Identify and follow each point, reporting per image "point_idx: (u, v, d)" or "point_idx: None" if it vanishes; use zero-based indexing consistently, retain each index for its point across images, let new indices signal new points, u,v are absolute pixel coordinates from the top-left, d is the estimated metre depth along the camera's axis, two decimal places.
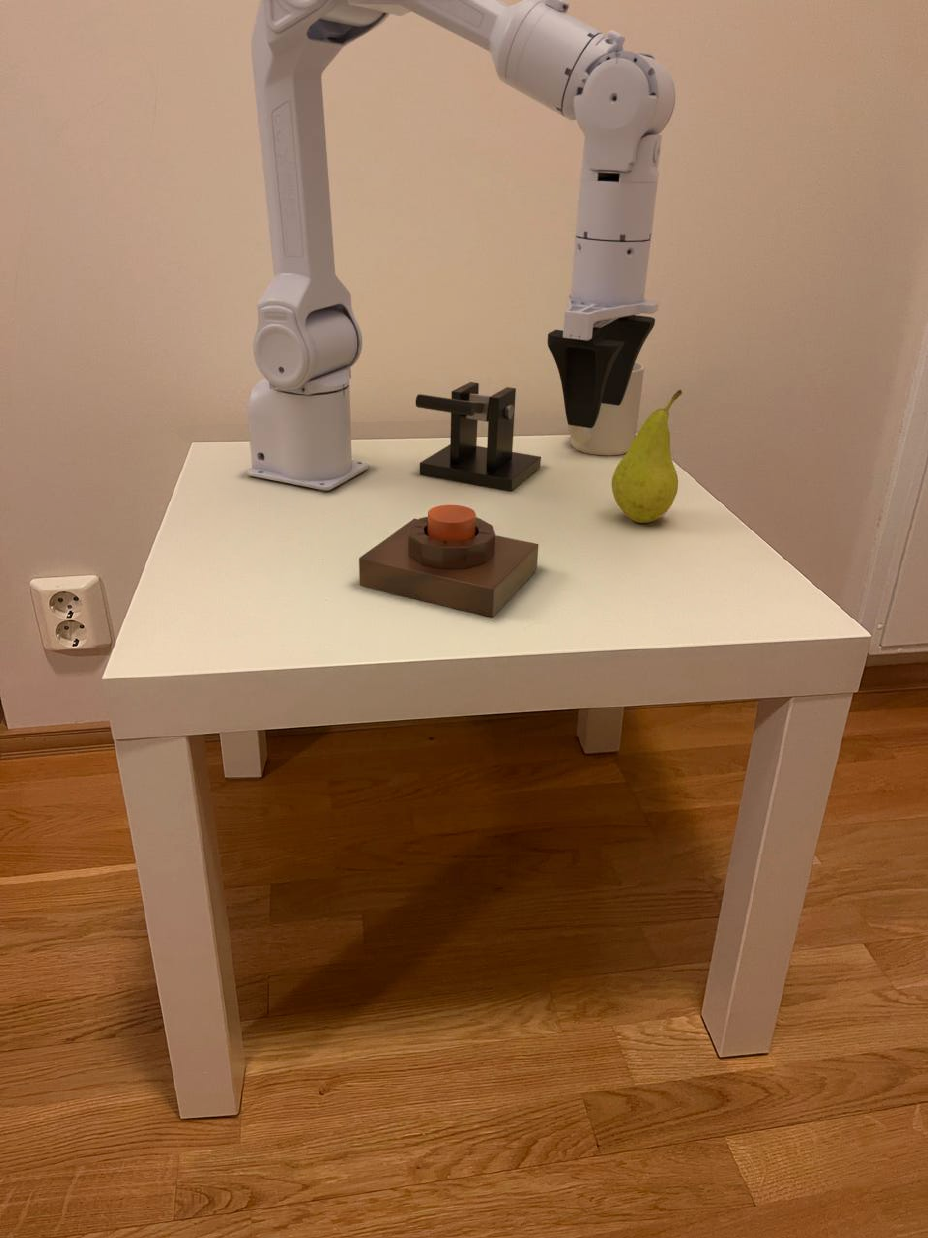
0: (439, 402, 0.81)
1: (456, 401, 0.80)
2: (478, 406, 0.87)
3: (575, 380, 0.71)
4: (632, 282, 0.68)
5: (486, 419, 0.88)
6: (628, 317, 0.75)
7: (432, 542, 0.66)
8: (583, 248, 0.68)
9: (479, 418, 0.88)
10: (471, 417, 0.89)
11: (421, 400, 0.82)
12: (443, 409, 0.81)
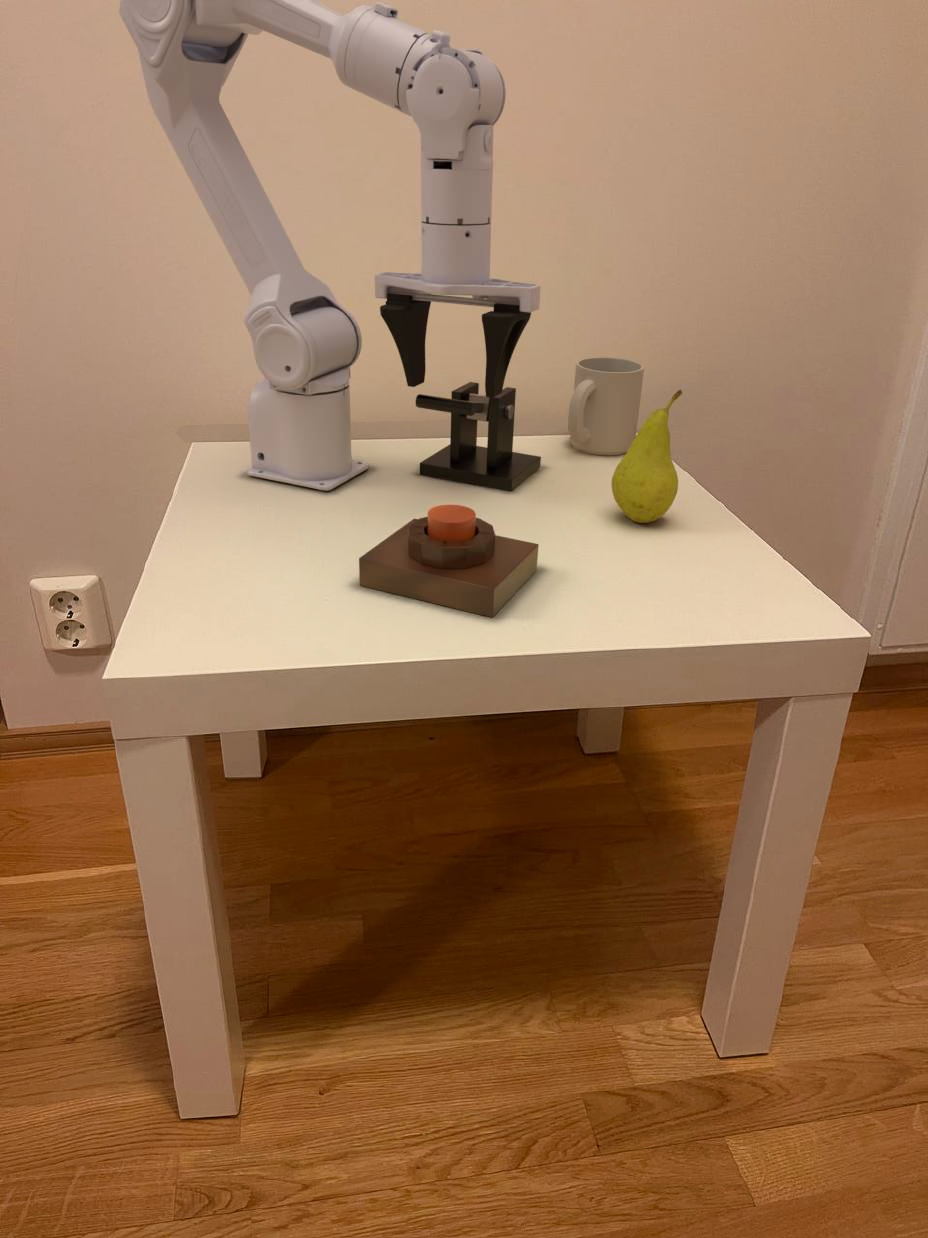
0: (439, 402, 0.81)
1: (456, 401, 0.80)
2: (478, 406, 0.87)
3: None
4: (425, 261, 0.74)
5: (486, 419, 0.88)
6: (495, 309, 0.75)
7: (432, 542, 0.66)
8: None
9: (479, 418, 0.88)
10: (471, 417, 0.89)
11: (421, 400, 0.82)
12: (443, 409, 0.81)
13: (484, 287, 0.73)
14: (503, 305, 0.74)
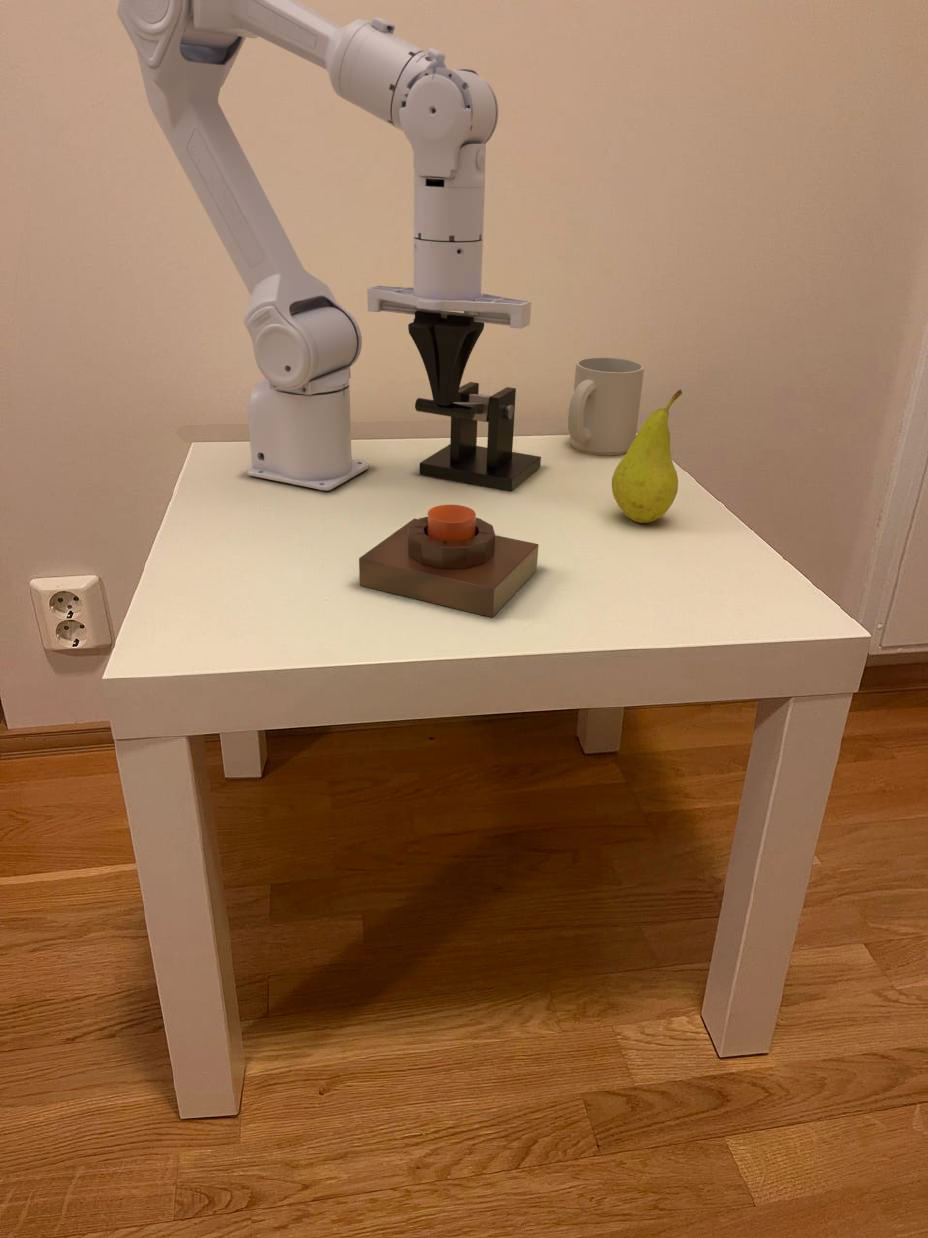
0: (438, 406, 0.81)
1: (455, 405, 0.81)
2: (478, 407, 0.87)
3: None
4: (417, 276, 0.75)
5: (486, 420, 0.88)
6: (448, 321, 0.77)
7: (432, 542, 0.66)
8: None
9: (479, 419, 0.88)
10: None
11: (421, 404, 0.82)
12: (443, 413, 0.81)
13: (475, 303, 0.74)
14: (456, 316, 0.76)
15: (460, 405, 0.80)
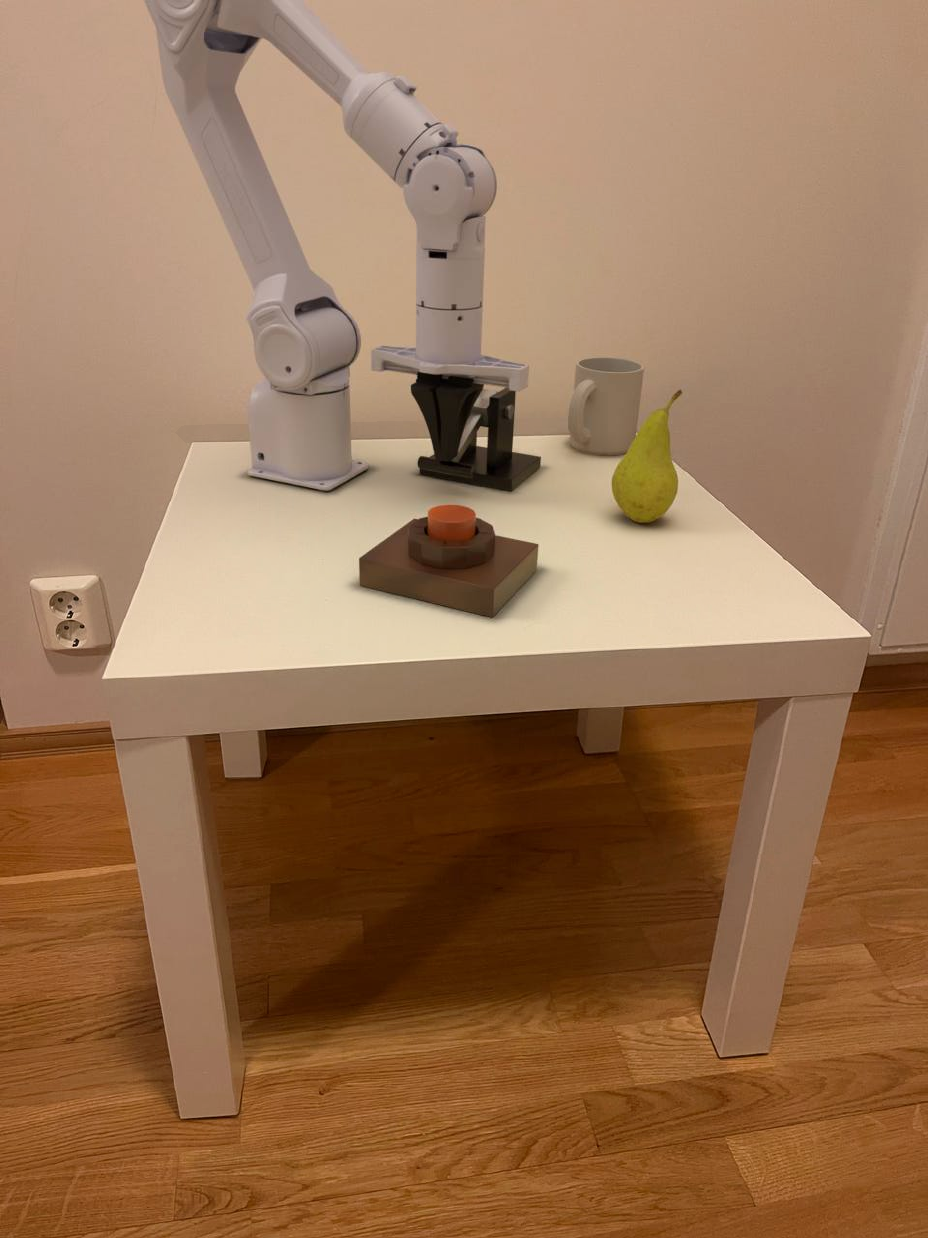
0: (440, 469, 0.84)
1: (455, 467, 0.84)
2: (478, 423, 0.88)
3: None
4: (419, 341, 0.78)
5: None
6: (449, 382, 0.80)
7: (432, 542, 0.66)
8: None
9: (482, 425, 0.89)
10: None
11: (423, 466, 0.85)
12: None
13: (475, 367, 0.77)
14: (456, 378, 0.79)
15: (459, 467, 0.83)
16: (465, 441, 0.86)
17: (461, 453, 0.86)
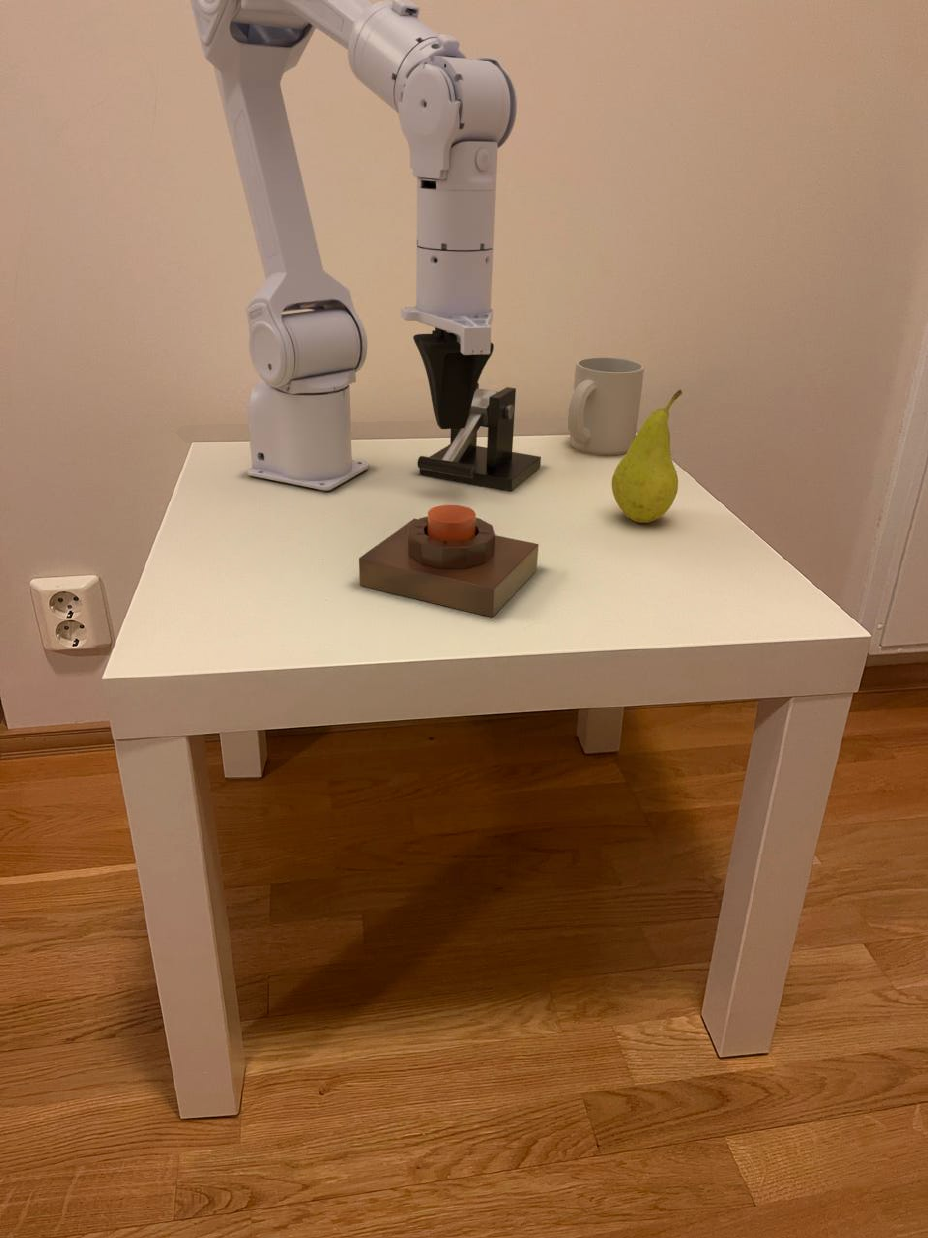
0: (440, 469, 0.84)
1: (455, 467, 0.84)
2: (478, 423, 0.88)
3: None
4: None
5: None
6: (444, 336, 0.70)
7: (432, 542, 0.66)
8: None
9: (482, 425, 0.89)
10: None
11: (423, 466, 0.85)
12: None
13: (438, 319, 0.66)
14: (447, 333, 0.69)
15: (459, 467, 0.83)
16: (465, 441, 0.86)
17: (461, 453, 0.86)
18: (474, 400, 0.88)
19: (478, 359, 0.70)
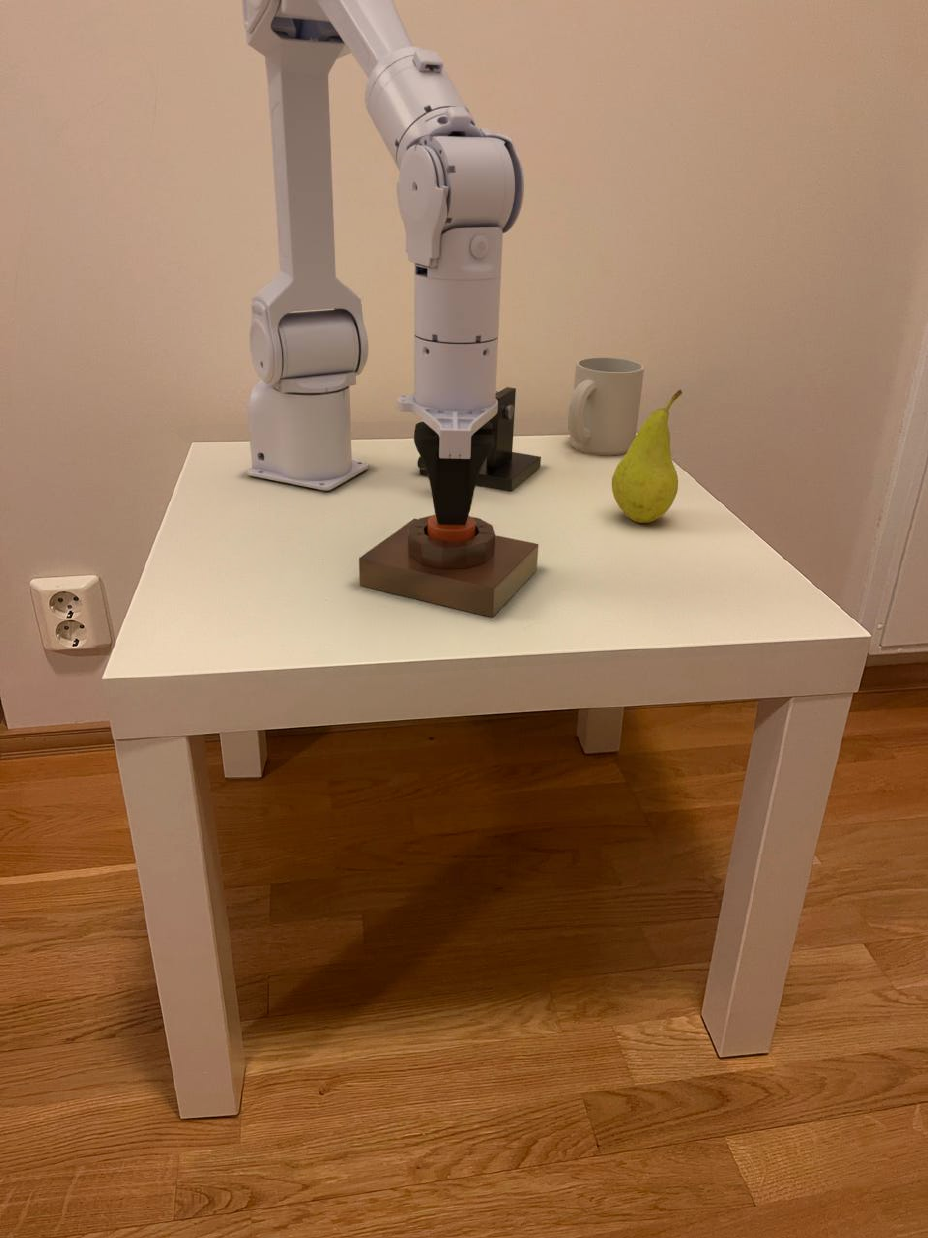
0: None
1: None
2: None
3: None
4: None
5: None
6: None
7: (432, 542, 0.66)
8: None
9: None
10: None
11: (423, 466, 0.85)
12: None
13: (425, 414, 0.61)
14: None
15: None
16: None
17: None
18: None
19: (475, 456, 0.63)
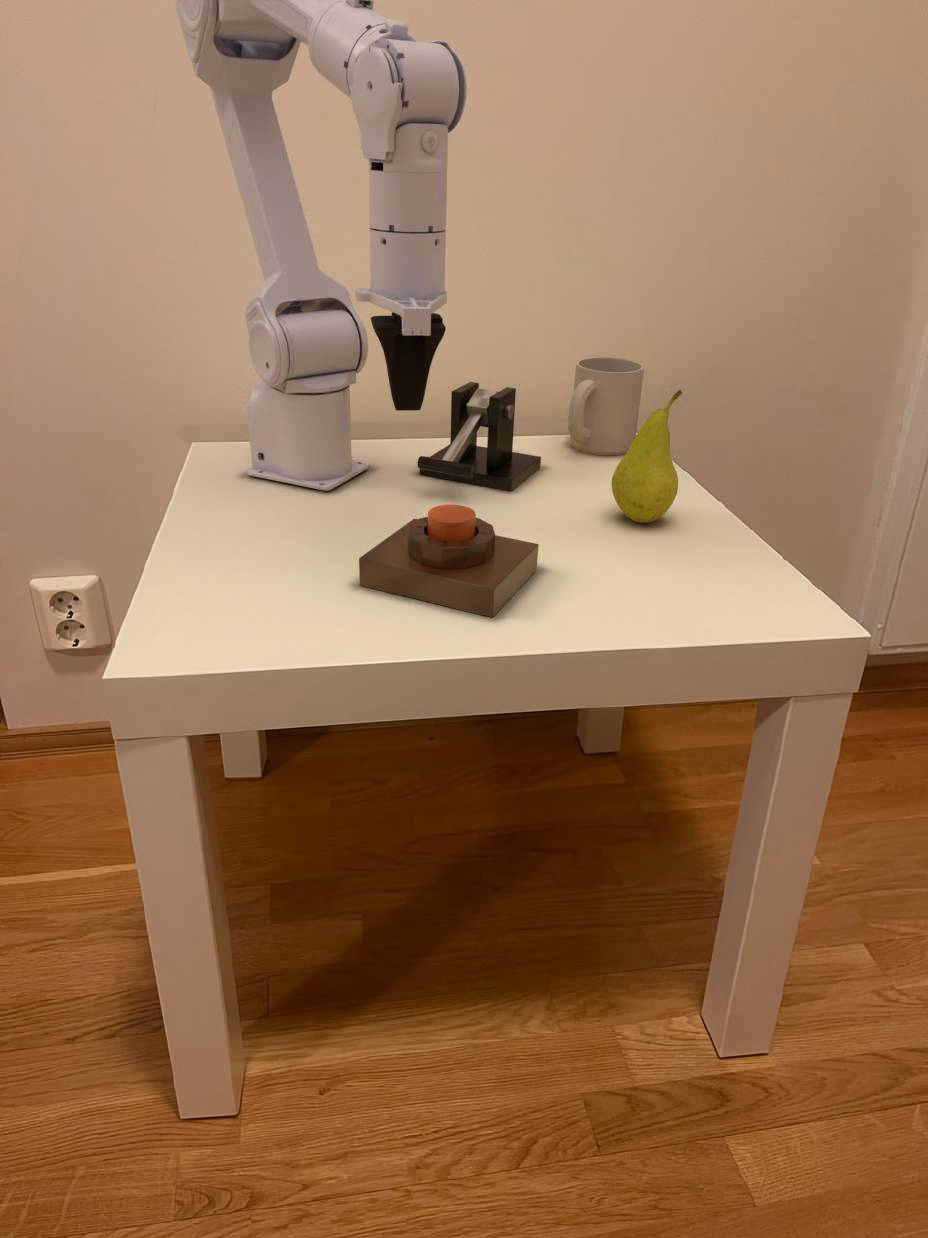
0: (440, 469, 0.84)
1: (455, 467, 0.84)
2: (478, 423, 0.88)
3: None
4: None
5: None
6: (397, 318, 0.70)
7: (432, 542, 0.66)
8: None
9: (482, 425, 0.89)
10: None
11: (423, 466, 0.85)
12: None
13: (385, 300, 0.67)
14: (399, 315, 0.70)
15: (459, 467, 0.83)
16: (465, 441, 0.86)
17: (461, 453, 0.86)
18: (474, 400, 0.88)
19: (429, 341, 0.70)
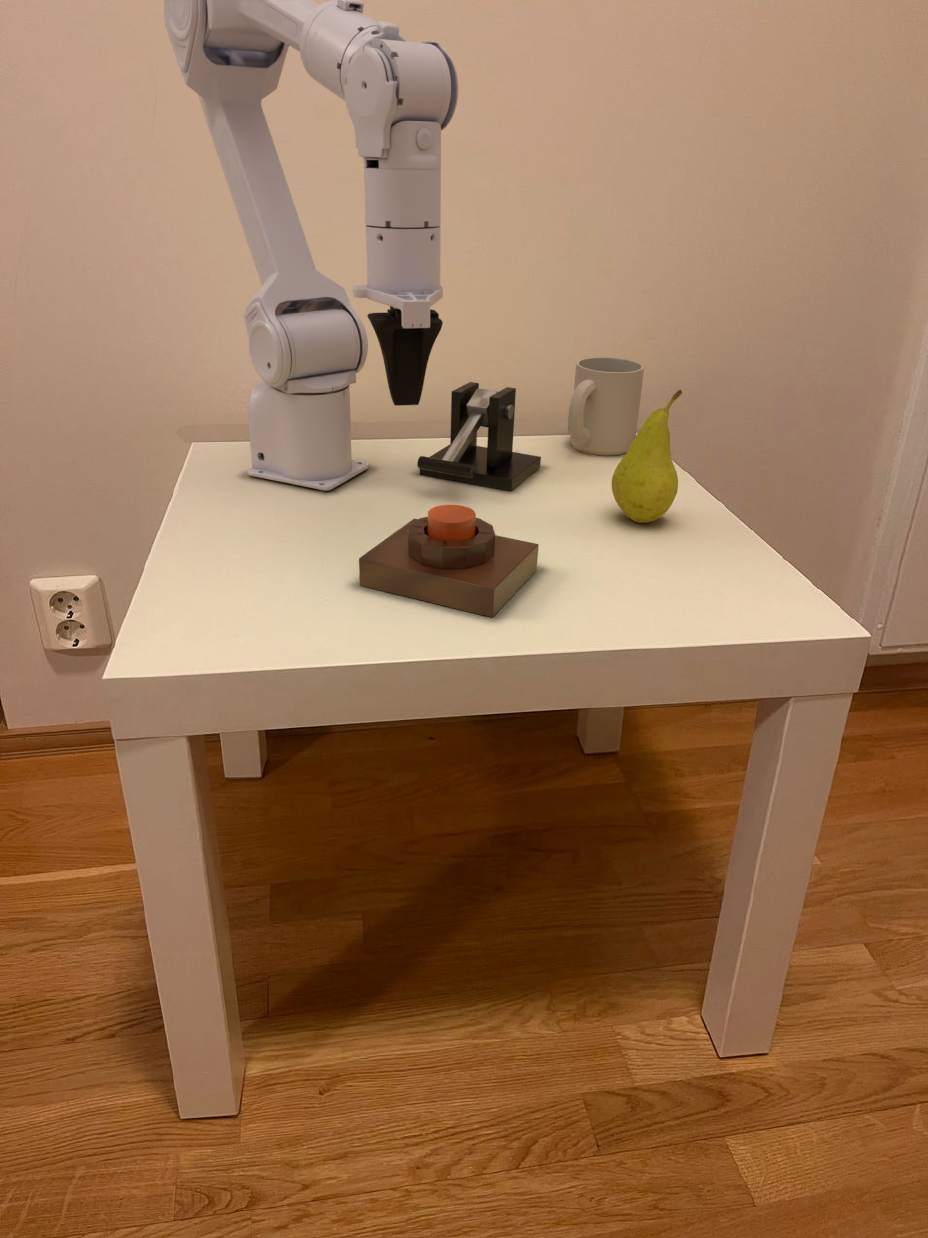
0: (440, 469, 0.84)
1: (455, 467, 0.84)
2: (478, 423, 0.88)
3: None
4: None
5: None
6: (394, 314, 0.72)
7: (432, 542, 0.66)
8: None
9: (482, 425, 0.89)
10: None
11: (423, 466, 0.85)
12: None
13: (383, 295, 0.68)
14: (396, 310, 0.71)
15: (459, 467, 0.83)
16: (465, 441, 0.86)
17: (461, 453, 0.86)
18: (474, 400, 0.88)
19: (427, 335, 0.71)
